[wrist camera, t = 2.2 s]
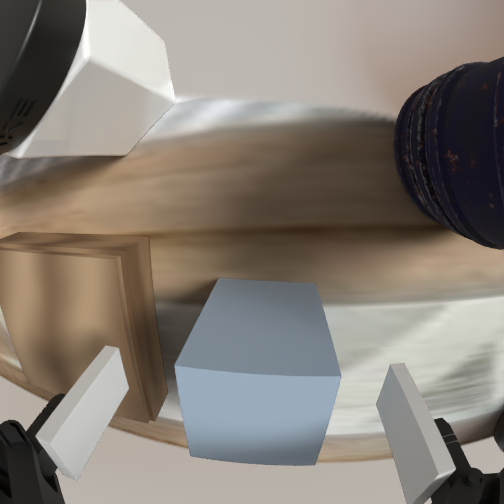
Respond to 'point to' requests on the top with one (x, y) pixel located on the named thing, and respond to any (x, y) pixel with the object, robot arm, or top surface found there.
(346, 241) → the top surface
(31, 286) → the base block
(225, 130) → the top surface
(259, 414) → the slate block
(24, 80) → the jar
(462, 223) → the dark blue upright cylinder
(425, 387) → the top surface
